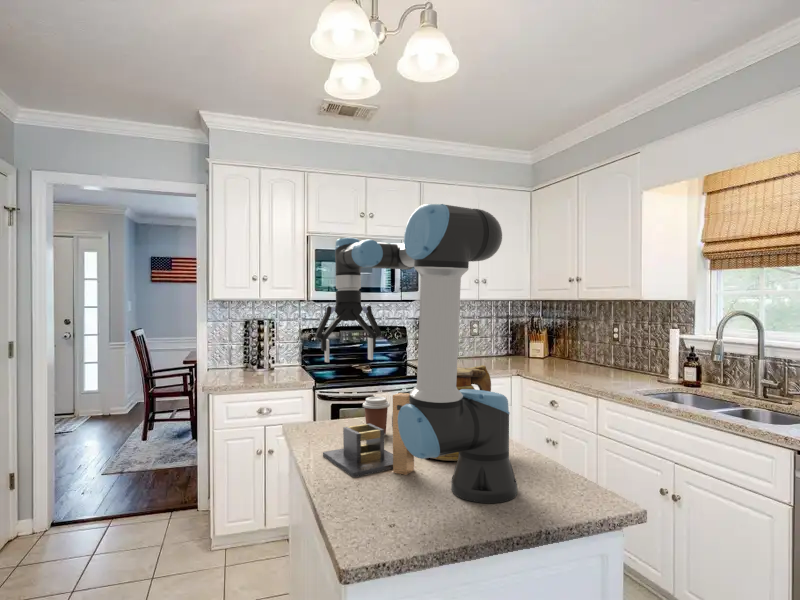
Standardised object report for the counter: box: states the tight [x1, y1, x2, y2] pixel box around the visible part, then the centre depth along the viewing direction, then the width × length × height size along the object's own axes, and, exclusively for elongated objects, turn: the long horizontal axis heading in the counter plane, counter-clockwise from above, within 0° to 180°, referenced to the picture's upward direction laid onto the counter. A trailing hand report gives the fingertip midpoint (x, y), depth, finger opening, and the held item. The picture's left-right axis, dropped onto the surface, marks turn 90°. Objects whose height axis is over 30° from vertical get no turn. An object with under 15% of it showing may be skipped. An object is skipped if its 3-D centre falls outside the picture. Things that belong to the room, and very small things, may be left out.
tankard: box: [430, 364, 492, 462], centre depth 142 cm, size 18×24×25 cm
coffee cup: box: [362, 396, 391, 436], centre depth 161 cm, size 9×9×12 cm
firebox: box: [322, 423, 393, 478], centre depth 134 cm, size 20×16×9 cm
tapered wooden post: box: [392, 392, 415, 476], centre depth 125 cm, size 4×4×20 cm
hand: (349, 360), depth 145 cm, fingers open, 13 cm apart
